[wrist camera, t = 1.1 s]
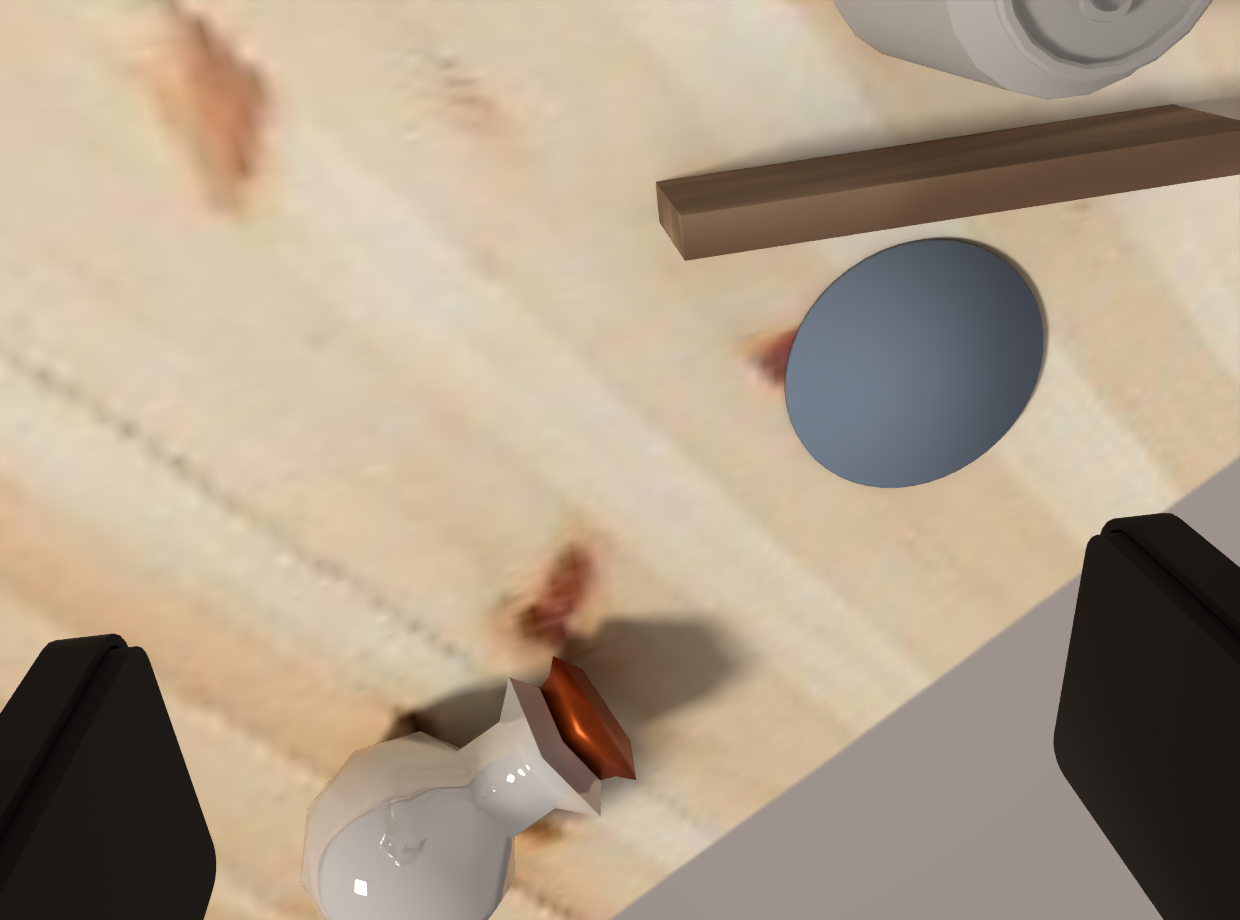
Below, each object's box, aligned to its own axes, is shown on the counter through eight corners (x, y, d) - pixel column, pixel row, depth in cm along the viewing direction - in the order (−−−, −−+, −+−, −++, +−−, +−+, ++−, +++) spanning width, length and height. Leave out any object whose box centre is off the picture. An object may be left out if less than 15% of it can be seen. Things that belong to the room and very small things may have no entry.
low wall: (655, 182, 37) (680, 216, 32) (1172, 104, 38) (1264, 126, 34) (659, 222, 38) (684, 260, 33) (1167, 144, 39) (1256, 171, 34)
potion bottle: (312, 788, 50) (555, 616, 49) (417, 960, 48) (669, 786, 48) (214, 839, 41) (511, 629, 40) (340, 1054, 39) (650, 839, 39)
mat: (779, 262, 39) (781, 264, 39) (1050, 219, 40) (1054, 221, 39) (789, 503, 44) (791, 506, 44) (1029, 462, 45) (1032, 465, 44)
